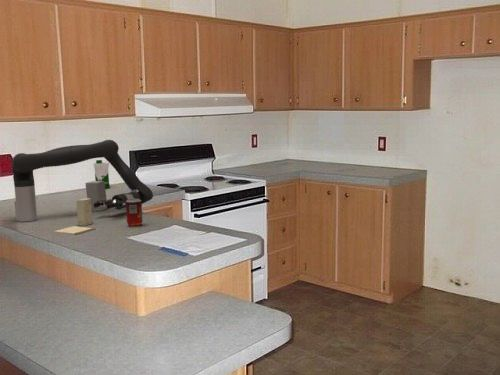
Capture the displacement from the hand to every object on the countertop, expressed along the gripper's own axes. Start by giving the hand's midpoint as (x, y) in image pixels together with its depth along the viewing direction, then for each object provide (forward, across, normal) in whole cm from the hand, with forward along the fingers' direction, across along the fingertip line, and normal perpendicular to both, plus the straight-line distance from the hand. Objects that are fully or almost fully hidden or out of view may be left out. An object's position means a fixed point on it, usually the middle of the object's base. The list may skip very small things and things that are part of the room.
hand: (100, 206), depth 257 cm
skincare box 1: (+11, 0, +7) cm, 13 cm away
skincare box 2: (-20, -22, +7) cm, 31 cm away
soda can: (+4, +24, +7) cm, 25 cm away
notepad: (+23, +5, +7) cm, 24 cm away
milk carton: (-86, -80, +7) cm, 118 cm away
